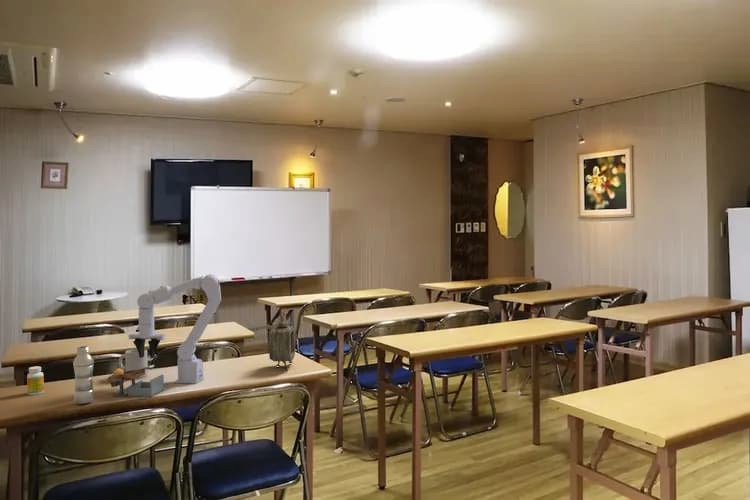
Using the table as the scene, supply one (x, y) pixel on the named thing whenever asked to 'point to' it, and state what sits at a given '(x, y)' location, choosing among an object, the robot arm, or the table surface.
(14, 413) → the table surface
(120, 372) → the ball
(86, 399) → the plastic bottle
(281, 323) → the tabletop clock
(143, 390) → the grey open box
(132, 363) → the mug
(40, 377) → the supplement bottle
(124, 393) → the stand
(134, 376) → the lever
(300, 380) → the table surface
